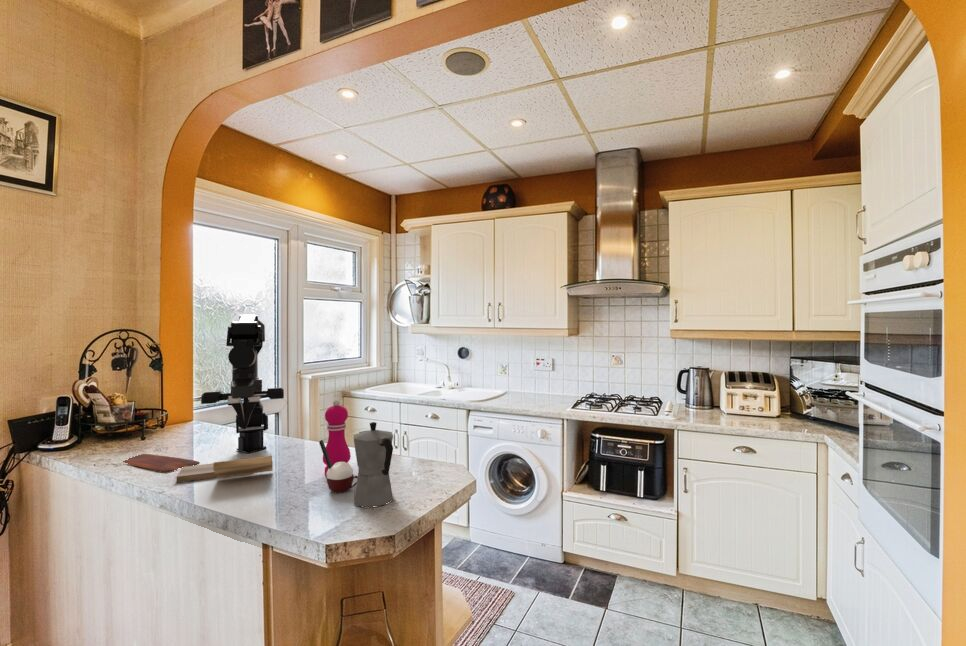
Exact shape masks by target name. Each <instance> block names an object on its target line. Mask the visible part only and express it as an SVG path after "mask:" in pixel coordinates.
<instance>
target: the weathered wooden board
mask: <svg viewBox="0 0 966 646" xmlns="http://www.w3.org/2000/svg"><path fill="white" fill-rule="evenodd" d="M214 463H215V462H212V463H203V464H198V465H194V466H186V467H183V468H181V470H180V471H179V473H178V474H177V475H176V483H177V482H180V483H184V482H183V481H188V482H192V481H191V480H195V481H200V480H199V479H203V480H209V479H216V478H217V479H219V478H218V477H217V475H216V473H215V472H214V470H213V465H214Z"/></svg>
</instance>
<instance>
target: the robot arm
mask: <svg viewBox="0 0 966 646" xmlns="http://www.w3.org/2000/svg"><path fill="white" fill-rule="evenodd" d="M265 326H266V325H265V324H264V323H263V322H262V321H260V320H259V315H258V314H249V313H248V314H246V313H245V314H240V315H239V319H238V321H231V322H230V325H228V326H227V334H226V345H225V346H226V347H232V348H231V349H230V350H229V353H228V355H227V358H228V361H229V363H230V364H231V383H230V392H225V393H224V392H223V391H222V390H221V391H220V390H217V391H206V392H203V393H202V394H201V396H200V405H207V404H208V405H209V404H216V403H218V402H221V401H227V406H228V407H229V406H232V408H233V409H234V411H235V413H236V415H235V430H236V432H235V433H236V434H239V435H238V438H237V443H238V444H237V448H236V451H237V452H241V453H245V452H246V453H245V454H249V453H250V454H251V453H253V452H254V453H255V452H257V451H261V449H262V450H265V449H267V446H264V432H265V431H267V430H269V416H268V415H267V413H266V411H264V405H263V403H262V402H261V398H263V399H264V398H268V399H270V400H279V399H284V396H285V394H284V393H285V390H284V388H283V387H270V388H267V390H263V378H262V377H259V376H258V375H259V374H258V373H259V372H258V368H259V366H258V365H259V364H258V363H259V362H258V361H259V360H258V357H259V356H258V355H259V353H260V352H261V350H262V348H263V346H264V342H266V330H265V329H266V327H265ZM222 392H223V393H222ZM242 400H243V401H242Z"/></svg>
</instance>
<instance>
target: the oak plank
mask: <svg viewBox="0 0 966 646" xmlns="http://www.w3.org/2000/svg"><path fill="white" fill-rule="evenodd" d="M213 463H214V465H213V470H214V472H215V473H216V475H217V477H218V478H217V477H216V478H217V479H221V478H228V477H236V476H243V475H250V474H252V475H253V474H260V473H266V472H273V469H274V468H273V467H274V464H273V455H267V456H259V457H252V458H251V457H249V458H241V459H234V460H233V459H232V460H224V461H215V462H213Z"/></svg>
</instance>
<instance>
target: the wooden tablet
mask: <svg viewBox="0 0 966 646" xmlns="http://www.w3.org/2000/svg"><path fill="white" fill-rule="evenodd" d="M140 454H141V453H140ZM140 454H138V456H137V455H135V457H134V456H131V457H132V458H130V457H128V458H129V459H128V460H125V461H123V462H125V463H128V464H130V465H133V466H132V467H135V466H138V467H137V468H141V467H142V469H145V468H146V469H145V470H149V469H151V470H150V471H153V470H156V471H155V472H158V471H161V472H160V473H163V472H170V473H172V472H171V471H173V472H175V471H174V470H176V471H178V470H177V469H178V468H181V469H182V467H186V466H193V465H197V464H198V465H200V463H201V462H200V461H199V460H198V461H197V460H193V459H187V458H182V457H181V458H180V457H172V456H168V455H159V454H149V453H142V454H141V455H140Z"/></svg>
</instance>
